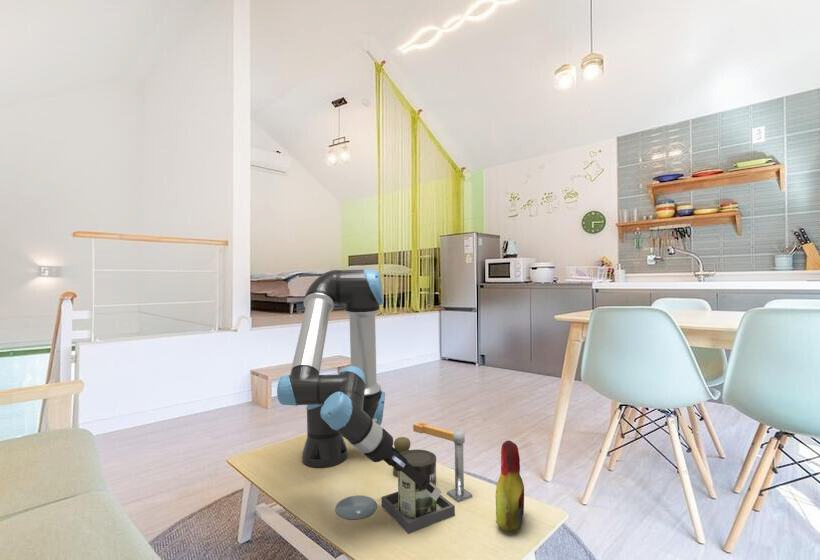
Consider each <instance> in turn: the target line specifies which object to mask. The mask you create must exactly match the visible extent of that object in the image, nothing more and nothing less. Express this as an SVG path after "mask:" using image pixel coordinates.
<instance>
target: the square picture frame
mask: <svg viewBox="0 0 820 560" xmlns="http://www.w3.org/2000/svg"><path fill="white" fill-rule="evenodd" d="M394 504H398V491H395V492H392V493H390V494H386V495H383V496H381V507H382V508H383V509H384V511H386V512H387V514H389V515H390V517H391V518H393V520H394V521H395V522H396V523H397V524H398V525H399V526H400V527H401V528H402V529H403V530H404V531H405V532H406V534H408V535H409V534H410V533H413V532H416V531H420V530H421V529H424V528H426V527H429V526H432V525H435V524H437V523H440V522H442V521H444V520H447V519H450V518H452V517H455V516H456V512H455V511H456V508H455V507H456V506H455V504H453V503H452V502H451V501H449V500H448V499H446V498H445V497H444V496H443V495H441V494H440V496H439V497H438V499H437V500H436V505H437V506H439V507H440V509H437V510H436V511H434V512H431V513H428V514H426V515H423V516H420V517H417V518H415V519H412V520H408V519H407V518H406V517H405V516H404V515H403V514H402V513H401V512H400V511H399V510H398V508H397V506H395V505H394Z"/></svg>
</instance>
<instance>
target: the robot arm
mask: <svg viewBox="0 0 820 560" xmlns="http://www.w3.org/2000/svg"><path fill="white" fill-rule="evenodd" d="M384 300H385V299H384V289H383V284H382V278H381V275H380V272H379V271H377V270H375V269H366V268H365V269H344V270H343V269H342V270H339V269H333V270H329V271H326V272H324V273H322V274H321V275H320V276H318V277H317V278H316V279H314V281H313V282H312V283H311V284H310V285H309V287H308V288H307V291H306V293H305V295H304V299H303V307H304V308H305V309H304V313H303V317H302V322H301V325H300V329H299V335H298V340H297V343H296V347H295V353H294V355H293V360H292V365H291V369H290V374H287V375H282V376H281V377H280V378H279V380H278V382H277V387H276V393H277V394H276V395H277V400H278V402H279V404H281V405H284V406H295V407H297V406H306V424H307V425H306V426H307V427H306V430H307V431H306V432H307V433H306V434H307V435H306V436H307V437H306V440H305V442H304V446H303V450H302V453H301V455H302V458H301V461H302V463H303V464H304V465H305V464H306V465H305V466H307V465H308V466H307V467H310V466H311V467H310V468H319V467H322V468H328V467H333V466H334V467H335V466H336V465H339V464H342V463H344V461H345V460H347V458H348V448H347V445H346V442H345V440H346V441H347V442H349V443H350V444H351V445H352V446H353V447H354V448H356V449H357V450H358V451H359V452H360V453H362V454H363V456H365V457H366V458H368V459H369V460H370V461H372V462H373V463H380V462H382V461H383V462H385V463H386V464H387V465H388V466H391V467H393V469H394V468H395V469H396V470H397V471H402V472H403V473H404V474H405V475H407V476H408V477H409V478H410V479H411V480H413V481H414V482H415V483H416V484H417V485H419V489H418V490H420V491H421V490H423V491H425V492H426V493H427V494H428V495H429V496H430V497H432V498H433V499H434V500H435V501H436V500H437V499H438V497H439V496H440V495H441V494H442V491H443V490H441V489H440V488H439V487H438V486H437V485H436V486H435V485H434V484H433V483H432V482H431V481H430V480H429V479H427V478H426V477H425V476H424V475H422V474H421V473H420V472H419V471H418V470H416V469H415V468H414V467H413V466H412V465H411V464H409V463H408V462H407V459H406V458H405V457H403V456H402V455H401V454H400V453H399V451H398V450H397V449H395V447H394V437H393V435H391V434H390V432H388V431H387V430H386V429H385V428H383V427H382V426H381V425H382V423H383V419H384V418H383V417H384V409H385V398H386V392H385V391H383V390H382V386H381V385H380V384H379V383H378V382H377V343H376V338H377V337H376V335H377V334H376V315H377V313H378V312H379V311H380V310H381V309H380V308H381V307H380V306H382V305H384V303H385V301H384ZM335 306H344V312H346V314H347V315H348V316H349V339H350V340H349V343H350V347H349V348H350V350H349V351H350V365H349V366H346V367H345V366H344V368H341V370H340V371H339V373H338V374H320V371H321V366H322V361H323V356H324V355H323V354H324V349H325V343H326V337H327V331H328V325H329V319H330V318H329V317H330V313H331V312H332V311H333V310H334V308H335ZM344 439H345V440H344ZM398 455H399V456H400V457H401V458H400V457H399V456H398ZM319 469H320V468H319Z"/></svg>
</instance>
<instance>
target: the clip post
mask: <svg viewBox="0 0 820 560" xmlns="http://www.w3.org/2000/svg"><path fill="white" fill-rule="evenodd" d="M464 465H465V464H464V443H462V444H456V443H454V481H455V483H454V484H455V485H454V486H455V487H454V488H453V489H451V490H447V491H446V495H448V496H449V497H450V498H452V500H454V501H456V502H457V503H460V502H463V501H465V500H468V499H471V498H473V494H472V493H471V492H470V491H468V490H467V489H465V486H464V485H465V484H464V483H465V477H464V475H465V474H464V473H465V471H464V470H465V467H464Z"/></svg>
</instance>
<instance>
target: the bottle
mask: <svg viewBox="0 0 820 560" xmlns="http://www.w3.org/2000/svg"><path fill="white" fill-rule="evenodd" d="M520 464H521V460H520V452H519V447H518V445H517V444H516V443H515V442H513V441H512V440H506V441H504V442H503V443H502V444H501V451H500V475H499V478H498V480H497V483H496V487H495V523H496V525H497V526H498V527H499V528H500V529H502V530H503V531H505V532H517V531H518V530H520V528H521V526H522V522H523V519H524V513H525V510H524V509H525V486H524V481H523V477H521V474H520V471H521V465H520Z"/></svg>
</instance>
